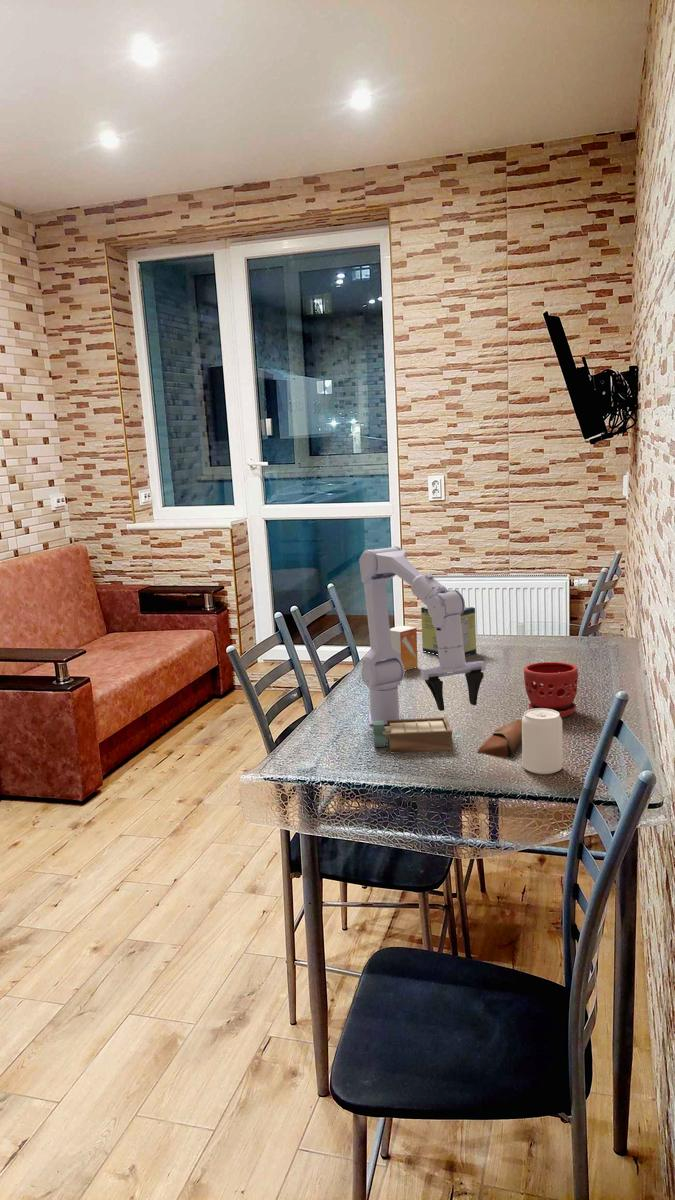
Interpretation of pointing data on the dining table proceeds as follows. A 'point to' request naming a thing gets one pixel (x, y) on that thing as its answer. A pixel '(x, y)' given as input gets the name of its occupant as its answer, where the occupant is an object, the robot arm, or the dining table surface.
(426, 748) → the brown wooden flat box
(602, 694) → the dining table surface
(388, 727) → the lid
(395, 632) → the small box
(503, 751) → the sunglasses case
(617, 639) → the dining table surface
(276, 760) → the dining table surface
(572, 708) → the plant pot
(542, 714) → the beverage can
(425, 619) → the protein box
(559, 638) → the dining table surface
